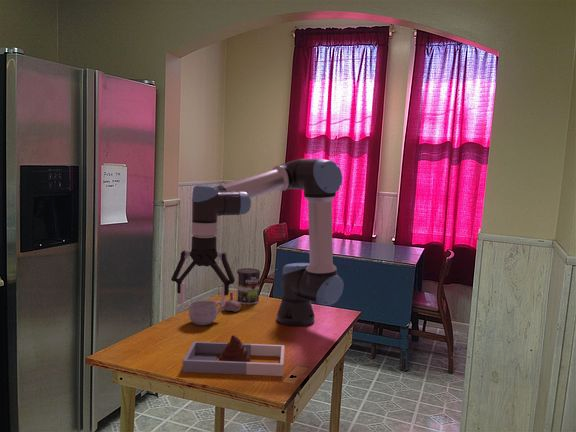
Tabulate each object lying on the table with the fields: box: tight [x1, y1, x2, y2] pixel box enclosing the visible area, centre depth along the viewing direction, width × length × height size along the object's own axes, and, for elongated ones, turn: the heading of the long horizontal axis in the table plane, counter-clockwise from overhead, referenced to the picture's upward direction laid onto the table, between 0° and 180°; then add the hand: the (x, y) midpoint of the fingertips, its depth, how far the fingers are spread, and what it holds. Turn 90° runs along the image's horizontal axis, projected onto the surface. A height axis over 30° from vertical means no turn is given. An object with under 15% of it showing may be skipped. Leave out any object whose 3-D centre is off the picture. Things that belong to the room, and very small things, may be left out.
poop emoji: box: [218, 334, 252, 362], centre depth 160 cm, size 10×8×9 cm
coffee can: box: [235, 267, 261, 305], centre depth 229 cm, size 10×10×14 cm
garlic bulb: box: [222, 291, 242, 313], centre depth 215 cm, size 8×7×8 cm
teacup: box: [188, 299, 224, 326], centre depth 198 cm, size 14×11×8 cm
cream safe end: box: [246, 343, 285, 377], centre depth 161 cm, size 11×16×4 cm
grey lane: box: [182, 341, 252, 376], centre depth 161 cm, size 19×16×4 cm
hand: (202, 304), depth 159 cm, fingers open, 12 cm apart
